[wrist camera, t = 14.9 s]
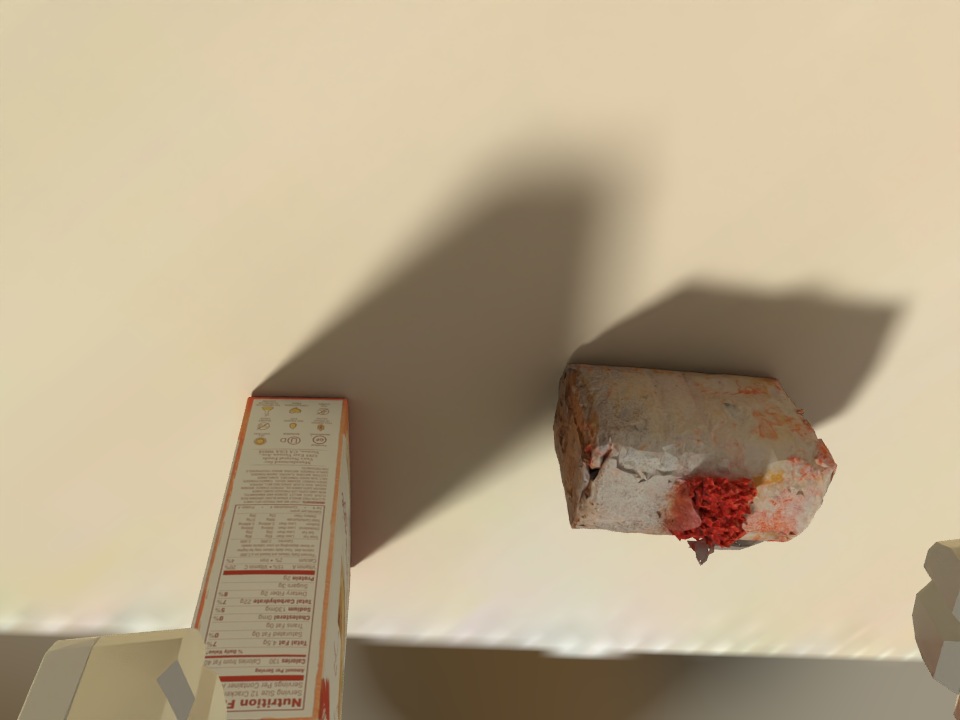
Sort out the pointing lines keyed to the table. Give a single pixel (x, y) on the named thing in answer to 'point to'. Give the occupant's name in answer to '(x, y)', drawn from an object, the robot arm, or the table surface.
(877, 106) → the table surface
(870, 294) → the table surface
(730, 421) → the food item
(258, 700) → the cracker box
